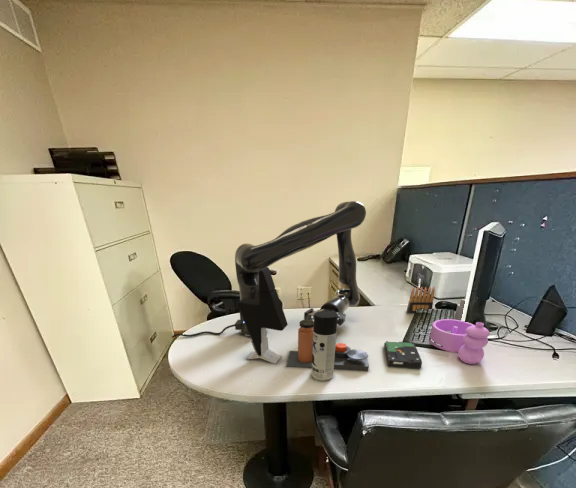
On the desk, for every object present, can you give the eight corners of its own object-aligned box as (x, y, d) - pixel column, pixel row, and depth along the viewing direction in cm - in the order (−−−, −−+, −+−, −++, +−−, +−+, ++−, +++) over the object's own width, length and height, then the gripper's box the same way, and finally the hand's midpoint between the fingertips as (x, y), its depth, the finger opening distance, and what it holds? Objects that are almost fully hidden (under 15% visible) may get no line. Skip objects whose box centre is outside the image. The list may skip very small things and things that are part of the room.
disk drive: (421, 370, 103) (412, 348, 116) (423, 362, 102) (414, 341, 115) (387, 367, 105) (383, 347, 117) (389, 360, 103) (384, 340, 116)
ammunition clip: (429, 311, 149) (435, 285, 143) (431, 313, 147) (437, 287, 142) (406, 311, 149) (411, 285, 143) (407, 313, 148) (412, 287, 142)
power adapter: (468, 323, 136) (476, 295, 131) (455, 322, 137) (462, 295, 131) (466, 320, 139) (474, 293, 133) (453, 320, 140) (460, 292, 134)
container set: (423, 334, 127) (430, 301, 120) (462, 334, 127) (472, 301, 120) (450, 366, 105) (460, 328, 99) (498, 366, 105) (511, 328, 98)
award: (288, 357, 111) (287, 268, 96) (283, 365, 107) (281, 272, 92) (247, 351, 115) (241, 264, 100) (241, 358, 111) (233, 268, 96)
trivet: (286, 367, 105) (286, 365, 105) (290, 351, 115) (290, 350, 115) (320, 368, 104) (320, 367, 104) (321, 353, 114) (321, 352, 113)
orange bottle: (297, 362, 107) (297, 325, 101) (298, 354, 112) (299, 318, 106) (314, 363, 107) (315, 326, 100) (315, 355, 111) (316, 319, 105)
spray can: (310, 370, 103) (311, 310, 93) (331, 369, 104) (335, 309, 94) (313, 381, 97) (315, 318, 88) (335, 380, 98) (340, 317, 88)
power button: (335, 352, 107) (335, 347, 107) (335, 347, 111) (335, 342, 110) (346, 352, 107) (347, 347, 106) (346, 347, 110) (346, 343, 109)
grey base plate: (323, 369, 104) (323, 359, 102) (324, 353, 114) (324, 344, 112) (368, 371, 103) (369, 361, 101) (364, 355, 112) (366, 345, 111)
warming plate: (346, 359, 102) (346, 358, 102) (345, 350, 108) (346, 349, 108) (368, 360, 101) (368, 359, 101) (366, 351, 107) (366, 349, 107)
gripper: (316, 297, 125) (298, 310, 113) (352, 302, 120) (337, 316, 107) (315, 315, 129) (298, 330, 116) (350, 321, 123) (336, 337, 111)
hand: (317, 323), depth 112 cm, fingers open, 8 cm apart
